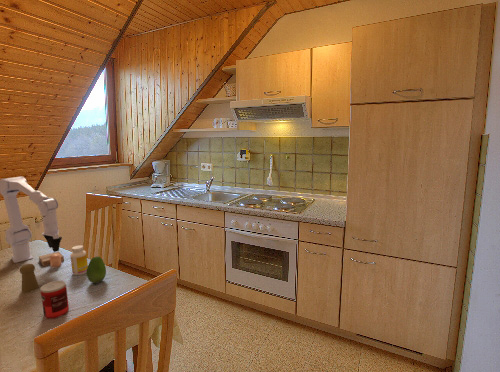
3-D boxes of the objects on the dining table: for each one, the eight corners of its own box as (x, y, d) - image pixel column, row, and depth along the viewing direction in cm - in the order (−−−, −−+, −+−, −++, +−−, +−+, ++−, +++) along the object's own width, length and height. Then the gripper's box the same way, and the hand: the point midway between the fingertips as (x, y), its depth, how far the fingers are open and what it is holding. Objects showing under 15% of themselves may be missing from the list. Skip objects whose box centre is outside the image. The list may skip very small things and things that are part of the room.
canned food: (51, 307, 113) (47, 280, 111) (73, 306, 114) (69, 279, 112) (39, 319, 106) (34, 291, 104) (62, 318, 106) (58, 290, 104)
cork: (42, 286, 128) (38, 263, 126) (28, 293, 123) (24, 269, 121) (32, 284, 130) (29, 261, 128) (18, 291, 125) (14, 267, 123)
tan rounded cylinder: (49, 265, 149) (48, 255, 148) (60, 262, 152) (58, 252, 151) (52, 268, 146) (50, 258, 145) (62, 265, 149) (61, 255, 148)
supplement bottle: (91, 269, 144) (88, 244, 142) (82, 275, 138) (79, 250, 136) (78, 268, 145) (75, 244, 143) (69, 275, 139) (66, 249, 136)
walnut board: (39, 261, 154) (38, 256, 154) (59, 255, 161) (58, 251, 160) (43, 266, 148) (43, 261, 148) (64, 260, 155) (63, 256, 154)
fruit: (111, 279, 134) (108, 255, 132) (95, 288, 127) (92, 262, 125) (99, 276, 137) (96, 252, 135) (83, 284, 130) (80, 258, 128)
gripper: (37, 221, 147) (40, 247, 149) (44, 228, 137) (48, 255, 139) (53, 218, 152) (57, 243, 154) (61, 224, 142) (65, 251, 144)
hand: (54, 249), depth 147 cm, fingers open, 7 cm apart
